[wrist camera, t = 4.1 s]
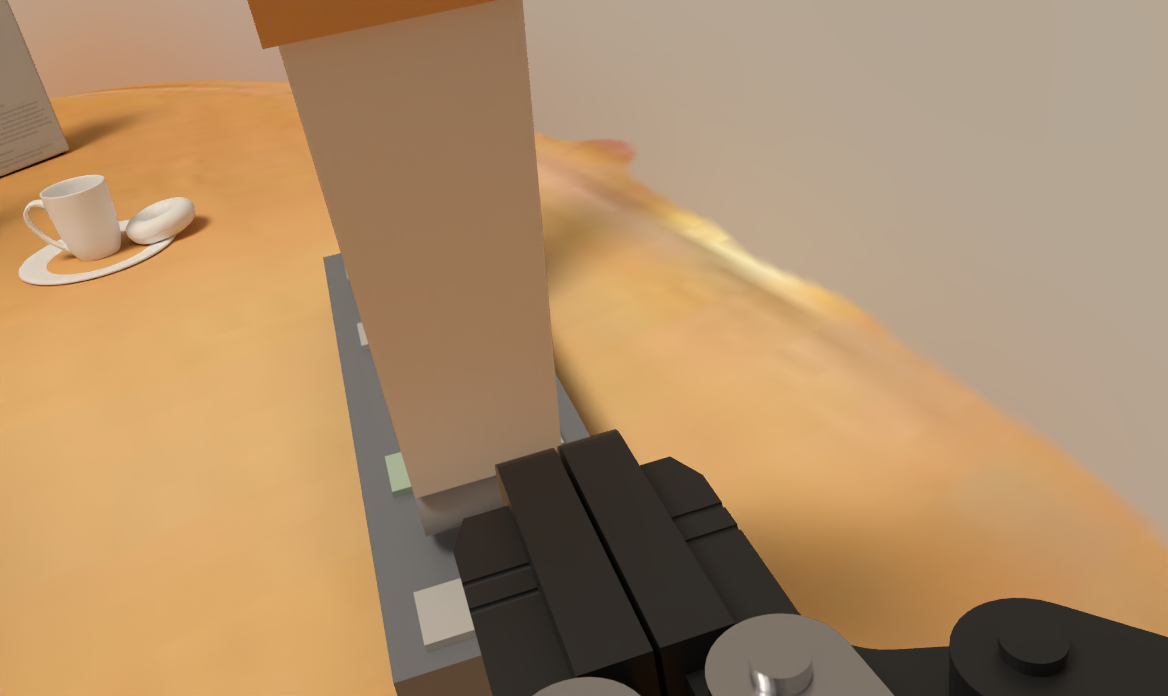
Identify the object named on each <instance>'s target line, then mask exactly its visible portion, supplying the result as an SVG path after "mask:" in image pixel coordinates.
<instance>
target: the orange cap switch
mask: <svg viewBox="0 0 1168 696" xmlns="http://www.w3.org/2000/svg"><path fill="white" fill-rule="evenodd" d="M248 4H249V7H250V10H251V13H252V16H253V19H254V23H255V26H256V29H257V32H258V35H259V38H260V42H261V45H262V48H263V49H266V48H270V47H275V46H279V49H280V53H281V56H282V59H283V62H284V66H285V69H286V72H287V76H288V79H289V83H290V86H291V89H292V93H293V96H294V99H295V102H296V106H297V109H298V112H299V116H300V119H301V122H302V126H303V129H304V132H305V136H306V139H307V142H308V145H309V149H310V152H311V155H312V159H313V162H314V165H315V169H316V172H317V175H318V179H319V182H320V185H321V189H322V192H323V195H324V198H325V202H326V205H327V208H328V212H329V215H330V218H331V222H332V225H333V228H334V232H335V235H336V238H337V241H338V245H339V248H340V251H341V255H342V258H343V261H344V265H345V268H346V271H347V275H348V278H349V281H350V285H351V288H352V291H353V294H354V298H355V301H356V304H357V308H358V311H359V314H360V318H361V321H362V324H363V328H364V331H365V334H366V338H367V341H368V344H369V347H370V351H371V354H372V357H373V361H374V364H375V367H376V371H377V374H378V377H379V381H380V384H381V387H382V390H383V394H384V397H385V400H386V404H387V407H388V410H389V414H390V417H391V420H392V424H393V427H394V430H395V434H396V437H397V440H398V443H399V447H400V450H401V453H402V457H403V460H404V463H405V467H406V470H407V473H408V477H409V480H410V483H411V487H412V490H413V493H414V496H415V499H416V503H417V506H418V510H419V514H420V517H421V521H422V524H423V528H424V531H425V534H426V537H427V536H430V535H433V534H437V533H440V532H444V531H447V530H450V529H454V528H457V527H460V526H461V525H462V522H463V519H464V518H468V517H471V516H474V515H478V514H481V513H484V512H488V511H491V510H494V509H498V508H501V507H504V506H503V502H502V497H501V493H500V489H499V485H498V481H497V476H496V471H495V464H499V463H502V462H506V461H509V460H512V459H516V458H519V457H523V456H526V455H530V454H533V453H536V452H540V451H543V450H547V449H550V448H554V449H555V450H556V452H557V446H560V445H561V434H560V422H559V411H558V399H557V388H556V377H555V365H554V354H553V342H552V331H551V320H550V308H549V297H548V285H547V274H546V263H545V251H544V240H543V228H542V217H541V206H540V194H539V183H538V172H537V160H536V149H535V137H534V128H533V127H534V126H533V115H532V104H531V92H530V81H529V70H528V58H527V46H526V36H525V23H524V12H523V1H522V0H248Z"/></svg>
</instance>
